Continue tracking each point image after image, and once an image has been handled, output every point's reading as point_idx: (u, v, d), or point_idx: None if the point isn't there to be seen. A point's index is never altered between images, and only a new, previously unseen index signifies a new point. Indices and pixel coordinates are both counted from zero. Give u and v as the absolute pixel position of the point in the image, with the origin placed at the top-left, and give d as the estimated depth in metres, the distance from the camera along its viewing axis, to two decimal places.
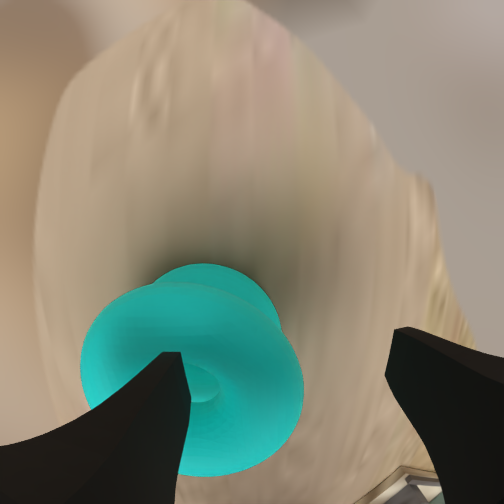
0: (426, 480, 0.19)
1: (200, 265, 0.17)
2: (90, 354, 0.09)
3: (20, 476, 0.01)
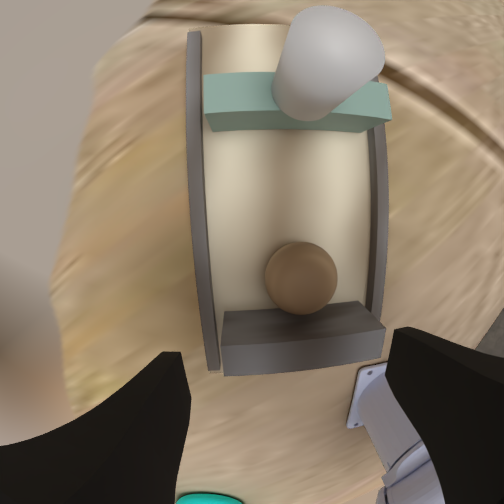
0: (201, 317, 0.17)
1: None
2: None
3: (20, 476, 0.01)
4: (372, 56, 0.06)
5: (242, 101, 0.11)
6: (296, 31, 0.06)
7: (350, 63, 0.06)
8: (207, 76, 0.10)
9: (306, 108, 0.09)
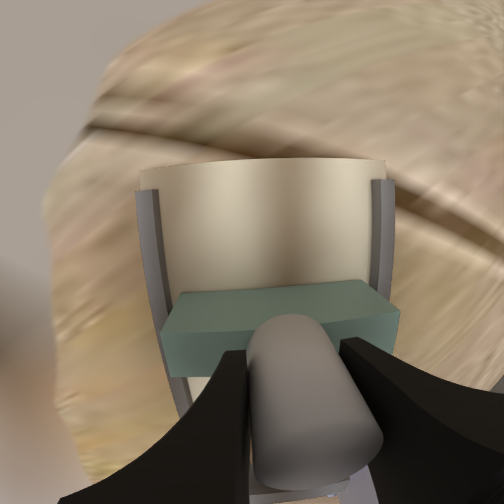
0: None
1: None
2: None
3: None
4: (358, 461, 0.05)
5: (212, 367, 0.09)
6: (262, 465, 0.05)
7: (324, 476, 0.05)
8: (165, 335, 0.09)
9: None
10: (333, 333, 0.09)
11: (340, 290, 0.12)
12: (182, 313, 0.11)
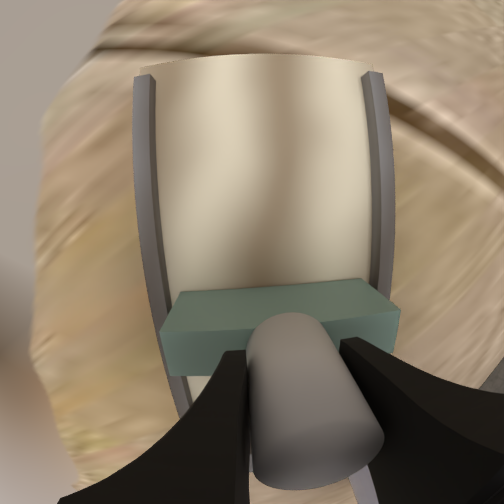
0: (178, 410, 0.14)
1: None
2: None
3: None
4: (359, 460, 0.05)
5: (211, 366, 0.09)
6: (262, 465, 0.04)
7: (325, 475, 0.05)
8: (164, 334, 0.09)
9: None
10: (334, 332, 0.09)
11: (340, 288, 0.12)
12: (182, 312, 0.11)
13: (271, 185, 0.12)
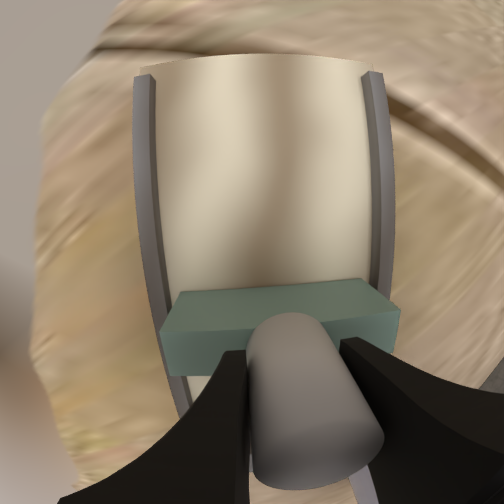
0: (178, 410, 0.14)
1: None
2: None
3: None
4: (359, 460, 0.05)
5: (211, 366, 0.09)
6: (262, 465, 0.04)
7: (325, 475, 0.05)
8: (164, 334, 0.09)
9: None
10: (333, 332, 0.09)
11: (340, 289, 0.12)
12: (182, 312, 0.11)
13: (271, 185, 0.12)
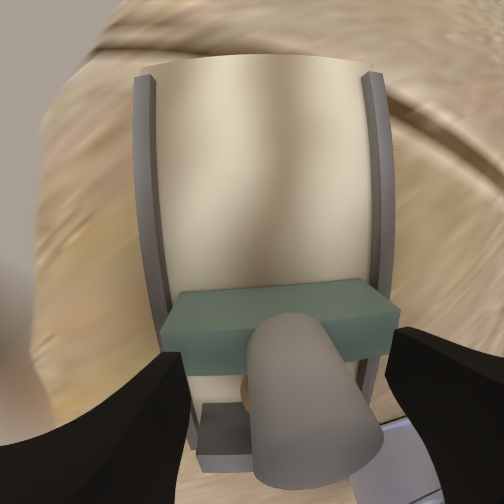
0: None
1: None
2: None
3: (19, 476, 0.01)
4: (359, 460, 0.05)
5: (212, 366, 0.09)
6: (262, 464, 0.04)
7: (325, 475, 0.05)
8: (164, 334, 0.09)
9: None
10: (334, 332, 0.09)
11: (340, 289, 0.12)
12: (182, 312, 0.11)
13: (271, 185, 0.12)
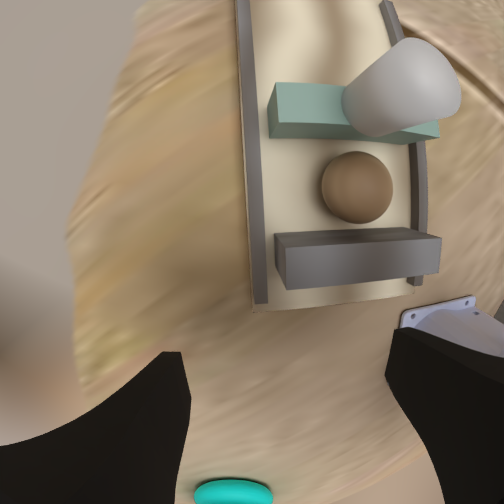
0: (250, 237, 0.16)
1: None
2: None
3: (19, 476, 0.01)
4: (453, 92, 0.06)
5: (315, 113, 0.11)
6: (398, 61, 0.06)
7: (439, 98, 0.06)
8: (279, 84, 0.11)
9: (382, 128, 0.09)
10: None
11: None
12: None
13: (331, 48, 0.14)
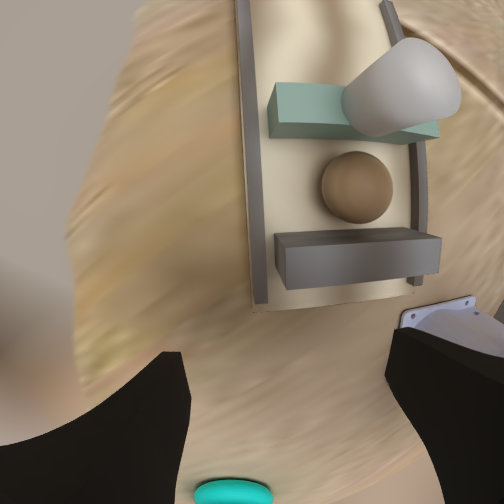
0: (250, 237, 0.16)
1: None
2: None
3: (19, 476, 0.01)
4: (453, 92, 0.06)
5: (315, 113, 0.11)
6: (398, 61, 0.06)
7: (439, 98, 0.06)
8: (279, 84, 0.11)
9: (382, 128, 0.09)
10: None
11: None
12: None
13: (331, 48, 0.14)
